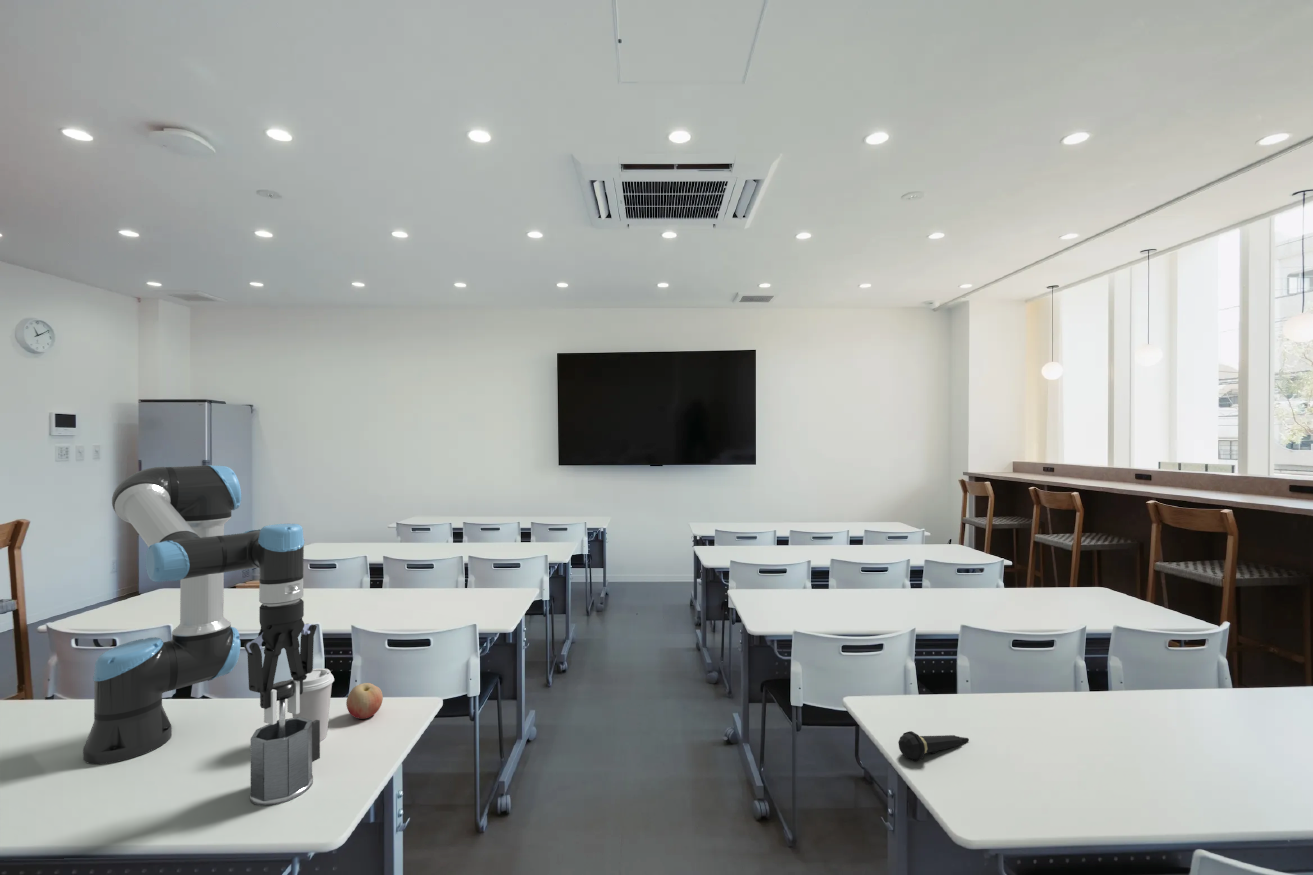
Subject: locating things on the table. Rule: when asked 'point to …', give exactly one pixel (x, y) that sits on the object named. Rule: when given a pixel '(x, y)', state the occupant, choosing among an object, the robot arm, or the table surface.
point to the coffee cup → (316, 698)
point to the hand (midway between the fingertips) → (282, 717)
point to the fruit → (364, 700)
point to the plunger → (283, 701)
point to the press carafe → (283, 760)
